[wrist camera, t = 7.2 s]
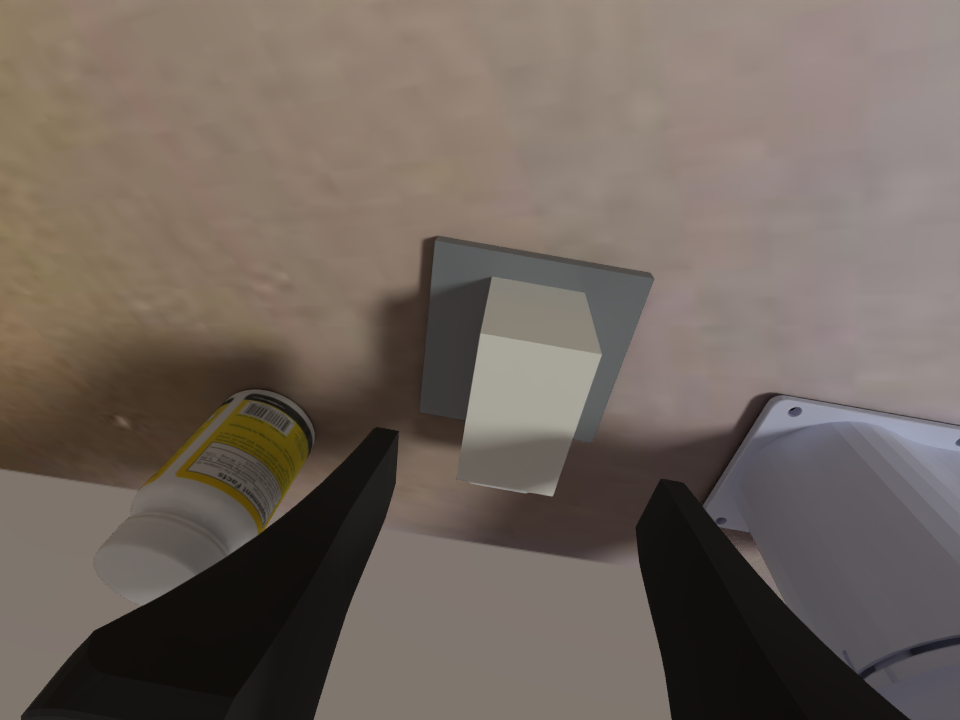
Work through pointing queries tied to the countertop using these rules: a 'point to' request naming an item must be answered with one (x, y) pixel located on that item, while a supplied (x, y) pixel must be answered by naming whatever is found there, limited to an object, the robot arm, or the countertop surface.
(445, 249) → the coaster
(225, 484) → the supplement bottle
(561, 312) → the block
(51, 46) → the countertop surface
